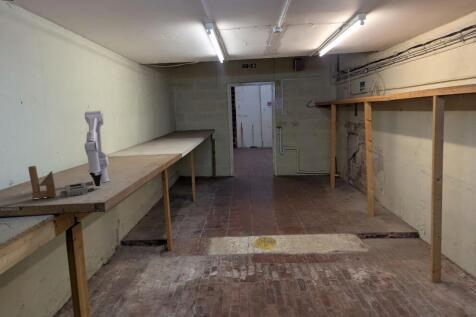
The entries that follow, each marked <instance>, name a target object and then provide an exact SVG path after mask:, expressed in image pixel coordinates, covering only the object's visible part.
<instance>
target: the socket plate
mask: <svg viewBox="0 0 476 317" xmlns="http://www.w3.org/2000/svg"><path fill="white" fill-rule="evenodd" d="M65 191H66V194H67V197H68V196H71V197H74V196H73V195H76V196H80V195H79V194H81V195H84V194H83V193H87V194H89V190H88V187H87V185H86V183H85V182H84V181H83V182H75V183H73V184H65Z"/></svg>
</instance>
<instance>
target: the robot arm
mask: <svg viewBox="0 0 476 317" xmlns="http://www.w3.org/2000/svg"><path fill="white" fill-rule="evenodd" d="M84 119H85V121H86V124H87V125H88V131H87V132H86V138H85V139H86V141H85V143H84V151H85V153H86V154H85V155H86V156H87V163H88V169H89V170H87V171H86V172H87V173H89V175H90V177H91V179H92V178H93V180H94V182H95V185H96V186H100V179H101V184H102V183H106V182H110V181H111V180H110V179H109V176H108V169H107V167H108V166H109V164H110V163H109V157H108V154H107V153H105V152H104V151H103V145H102V144H103V142H102V130H101V129H102V125H104V122H105V121H104V113H103V111H102V110H92V111H91V110H89V111H87V110H86V111H84Z"/></svg>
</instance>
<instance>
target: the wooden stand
mask: <svg viewBox="0 0 476 317" xmlns="http://www.w3.org/2000/svg"><path fill="white" fill-rule="evenodd" d="M27 169H28V173H29V178H30V179H29V180H30V184H31V189H32V190H31V191H32V193H31V195H32V200H33V199H34V198H44V197H53V198H56V197H57V192H56V191H57V190H56V185H55V181H54V174H53V170H51V171H50V172H49V173H47V174H48V175H46V177H44V179H43V180H42V181H41V182H40V180H39V176H38V175H39V174H38V170H37V166H36V165H30V166H28V167H27ZM41 187H45V189H46V190H41ZM44 199H45V198H44Z"/></svg>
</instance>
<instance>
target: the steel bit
mask: <svg viewBox="0 0 476 317" xmlns="http://www.w3.org/2000/svg"><path fill="white" fill-rule="evenodd" d="M91 180H92V187H93V189H94V190H100V189H102V183H101V179H100V186H96V185H95V182H94V180H93V178H92V177H91Z"/></svg>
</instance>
